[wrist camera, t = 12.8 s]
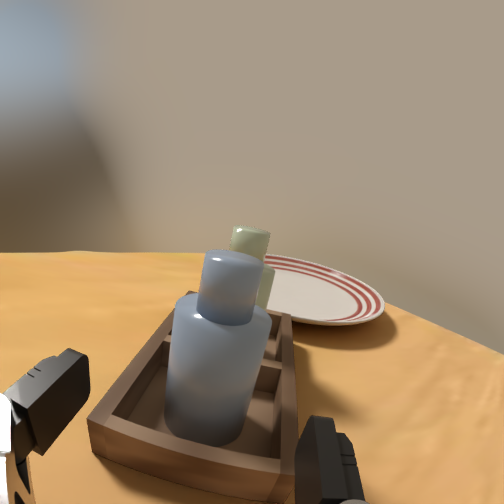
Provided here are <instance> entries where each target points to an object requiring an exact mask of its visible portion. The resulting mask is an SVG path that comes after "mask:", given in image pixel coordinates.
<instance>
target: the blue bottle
mask: <svg viewBox="0 0 504 504" xmlns="http://www.w3.org/2000/svg"><path fill="white" fill-rule="evenodd" d="M263 269H264V263H263V262H262V261H261V260H259V259H257V258H255V257H253V256H250V255H247V254H244V253H240V252H235V251H229V250H209V251H207V252H206V253H205V259H204V264H203V270H202V276H201V281H200V287H199V293H193V294H189V295H185V296H183V297H181V298H180V299H179V300H178V301H177V302H176V305H175V311H174V319H173V327H172V335H171V344H170V353H169V362H168V372H167V382H166V393H165V405H164V421H165V424H166V426H167V427H168V429H169V430H170V431H171V433H173V434H174V435H175V436H176V437H178V438H182V439H185V440H189V441H193V442H196V443H200V444H204V445H208V446H212V447H220V446H224V445H227V444H229V443H231V442H233V441H234V440H236V439H237V438H238V437H239V435H240V434H241V432H242V429H243V425H244V422H245V419H246V415H247V412H248V408H249V405H250V402H251V398H252V395H253V391H254V388H255V384H256V381H257V377H258V374H259V370H260V366H261V363H262V359H263V356H264V352H265V348H266V345H267V341H268V337H269V333H270V330H271V326H272V320H271V317H270V316H269V315H268V313H267V312H266V311H264V310H263V309H262V308H260V307H259V306H257V305H255V303H256V299H257V294H258V290H259V286H260V282H261V277H262V273H263Z"/></svg>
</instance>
